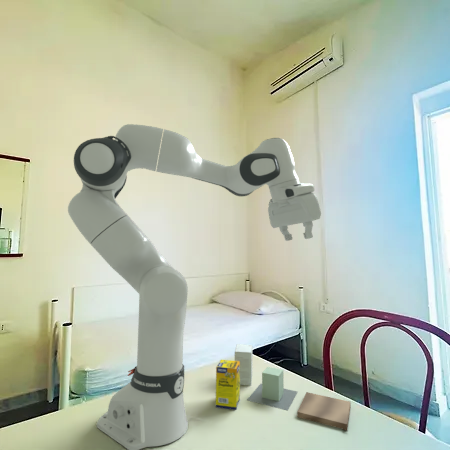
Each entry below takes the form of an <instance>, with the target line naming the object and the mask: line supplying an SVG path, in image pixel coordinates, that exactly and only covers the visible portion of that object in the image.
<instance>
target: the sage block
mask: <svg viewBox="0 0 450 450" xmlns="http://www.w3.org/2000/svg"><path fill="white" fill-rule="evenodd" d="M261 374H262V375H261V377H262V378H261V384H262V397H263V398H267V399H271V400H275V401H279V400H280V399H281V397H282V396H283V394H284V389H285V388H284V386H285V385H284V369H281V368H276V367H271V366H270V367H269V366H266V368H265V369H264V370H263V371H261Z"/></svg>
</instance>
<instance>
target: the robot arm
mask: <svg viewBox="0 0 450 450" xmlns="http://www.w3.org/2000/svg"><path fill="white" fill-rule="evenodd" d="M193 145H194V144H192V142H191V140H189V138H187V137H186V136H184V135H182V134H180V133H178V132H176V131H171V130H168V129H165V128H161V127H160V128H159V127H157V126H151V125H143V124H132V123H131V124H129V123H128V124H124V125H123V126H121V127H120V128H119V129H118V130H117V133H116V135H115V136H114V135H108V136H105V137H97V138H91V139H87V140H84V141H83V142H82V143H80V144H79V145H78V146H77V148H76V150H75V152H74V155H73V168H74V169H75V172H76V174H77V176H78V177H79V178H80V180H81V183H82V188H81V190H79V192H78V193H77V194H75V195H74V196H73V197H72V198H71V199H70V201H69V202H68V206H67V212H68V215H69V217H70V219H71V220H72V222H73V224H74V225H75V226H76V228H77V229H78V231H79V232H80V234H81V235H82V237H84V238H85V240H86V242H87V243H89V244H90V245H91V246H92V248H93V249H94V250H95V251H96V252H97V253H98V255H100V256H101V258H103V260H104V261H105V262H106V263H107V264H108V265H109V267H111V268H112V270H113V271H114V272H116V273H117V274H118V275H120V277H121V278H122V279H123V280H125V281H126V282H127V284H129V285H130V287H132V289H134V290H135V291H136V292H137V293H138V295H139V296H138V299H139V300H138V304H139V305H138V325H137V326H138V328H137V331H138V332H137V356H136V357H137V358H136V366H135V367H134V368H132V369H130V370H128V371H127V372H128V374H127V376H128V377H130V376H131V375H132V377H131V380H130V381H129V382H128V383H127V384H125V385H124V386H123V387H122V388H121V389H119V390H118V391H116V393H115V394H113V396H112V397H111V398H110V401H109V403H108V408H107V411H106V412H105V413H103V415H101V416H100V418H99V419H98V420H97V421H96V428H98V429H99V430H100V431H101V432H103V433H105V434H106V435H107V436H108V437H110V438H112V439H113V440H114V441H116V442H117V443H119V444H120V445H121V446H123V447H124V448H126V450H142V449H144V448H151V447H158V446H163V445H169V444H171V443H173V442H176V441H177V440H178V439H180V438H181V437H183V436H184V435H185V433H186V432H187V431H188V428H189V420H188V418H187V412H186V408H185V407H186V406H185V400H184V386H185V365H184V363H183V361H184V332H185V324H186V316H187V315H186V314H187V307H188V306H187V305H188V292H189V290H188V284H187V280H186V278H185V276H183V273H181V272H180V271H178V270H177V269H175V268H174V267H173V265H172V264H170V263H169V261H168V260H167V259H166V258H165V257H164V256H163V254H162V253H161V252H160V250H158V248H157V247H156V246H155V244H154V243H153V242H152V241H151V240H150V239H149V237H148V236H147V235H146V234H145V233H144V232H143V231H142V229H141V228H139V226H138V225H137V224H136V223H135V222H134V221H133V220H132V218H131V217H130V216H129V215H128V214H127V213H126V211H124V209H123V208H122V207H121V206H120V204H119V202H118V201H117V200H116V198H118V195H119V194H120V193H121V191H122V190H123V189H124V187H125V185H126V182H127V178H128V177H127V176H128V175H127V174H128V172H130V171H132V170H135V169H140V170H141V169H145V170H149V171H153V172H156V173H160V174H166V175H172V176H178V177H179V176H180V177H185V178H191V179H194V180H198V181H201V182H205V183H209V184H212V185H215V186H218V187H222V188H224V189H225V190H226V191H228V192H230V193H231V194H232V195H235V196H237V197H247V196H250V195H251V194H252V193H253V192H255V191H256V190H259V189H261V188H262V187H264V185H267V187H268V189H269V193H270V196H271V199H270V200H269V203H268V208H267V213H268V217H269V223H270V226H271V227H272V228H273V229H275V228H277V229H278V228H279V231H280V233H281V234H282V236H283V238H284V241H286V242H288V241H291V240H293V236H292V235H293V234H292V233H290V231H289V230H288V229H289V227H288V226H293V225H298V224H302V225H303V227H304V232H303V233H302V234H303V238H304V239H306V240H307V239H308V240H309V239H311V238H312V239H313V232H312V231H313V226H314V225H313V222H314V221H317V220H320V219H321V216H322V212H321V208H320V207H321V206H320V203H319V200H318V198H317V195H316V194H315V193H314V192H315V186H314V184H312V183H305V182H304V183H303V182H301V181H300V179H299V176H298V174H297V173H296V164H295V159H294V156H293V153H292V152H291V151H292V150H291V148H290V145H289V144H288V142H287V141H286V140H285V139H283V138H281V137H272V138H268V139H267V138H266V139H264V140H262V141H261V143H260V144H259V146H258V147H256V148H255V149H254V150H253V151H252V152H250V153H248V154H246V155H245V156H243V157H242V158H241V159H240V160H239V161H238V162H237V163H236V164H233V165H225V164H221V163H218V162H214V161H210V160H207V159H205V158H203V157H201V156H200V155H199V154H198V153H197V151H196V150H195V147H194V146H193Z"/></svg>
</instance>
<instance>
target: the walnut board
mask: <svg viewBox="0 0 450 450" xmlns="http://www.w3.org/2000/svg"><path fill="white" fill-rule="evenodd" d="M351 404H352V403H351V401H349V400H345V399H339V398H335V397H331V396H330V397H329V396H326V395H322V394H316V393H312V392H306V393H305V395H304V397H303V399H302V400H301V403H300V405H299V407H298V409H297V412H296V417H297V418H299V419H303V420H307V421H311V422H315V423H317V424H322V425H327V426H330V427H333V428H338V429H341V430H343V431H348V429H349V421H350V413H351Z"/></svg>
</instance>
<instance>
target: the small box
mask: <svg viewBox="0 0 450 450" xmlns="http://www.w3.org/2000/svg"><path fill="white" fill-rule="evenodd" d="M234 361H240V386H252V380H253V344H241V343H237V344H236V347H235V349H234Z"/></svg>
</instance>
